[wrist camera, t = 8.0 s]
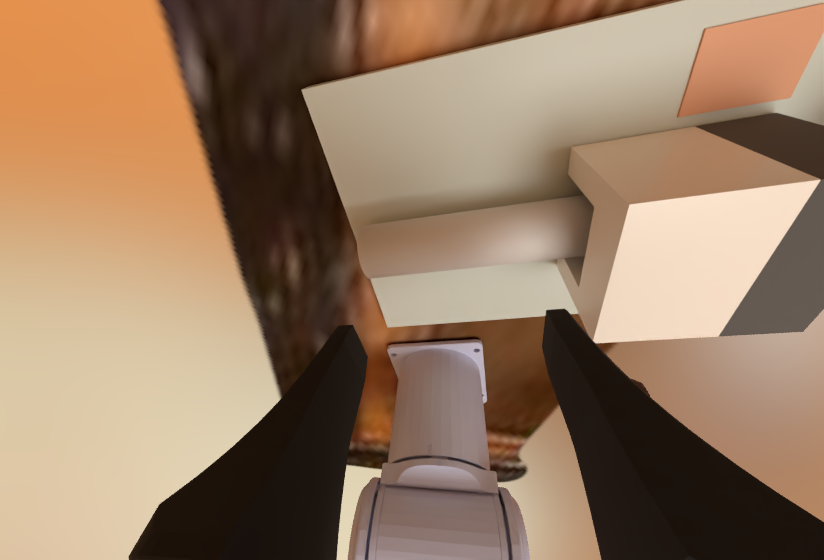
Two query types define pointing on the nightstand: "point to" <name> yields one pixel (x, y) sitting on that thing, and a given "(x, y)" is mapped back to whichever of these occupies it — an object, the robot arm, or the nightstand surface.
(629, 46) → the pipe clamp
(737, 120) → the dark grey block
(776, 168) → the sleeve
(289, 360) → the nightstand surface
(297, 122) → the nightstand surface
